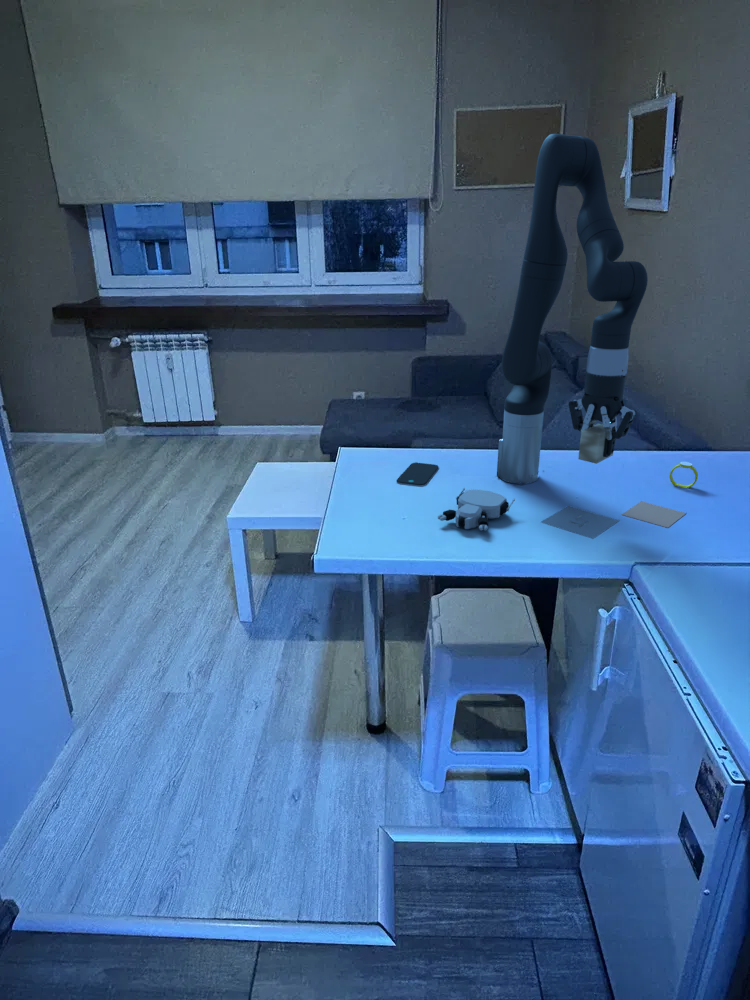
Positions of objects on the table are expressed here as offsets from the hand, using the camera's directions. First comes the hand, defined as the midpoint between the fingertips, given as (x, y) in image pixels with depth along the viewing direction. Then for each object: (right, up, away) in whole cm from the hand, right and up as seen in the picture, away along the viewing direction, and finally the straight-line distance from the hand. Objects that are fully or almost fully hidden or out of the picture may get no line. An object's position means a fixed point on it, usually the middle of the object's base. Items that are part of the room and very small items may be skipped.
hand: (596, 453), depth 139 cm
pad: (+15, -13, +9) cm, 22 cm away
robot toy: (-24, -14, +7) cm, 29 cm away
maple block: (0, -1, 0) cm, 1 cm away
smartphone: (-34, -4, +33) cm, 48 cm away
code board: (-2, -14, +6) cm, 15 cm away
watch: (+28, -6, +24) cm, 38 cm away
